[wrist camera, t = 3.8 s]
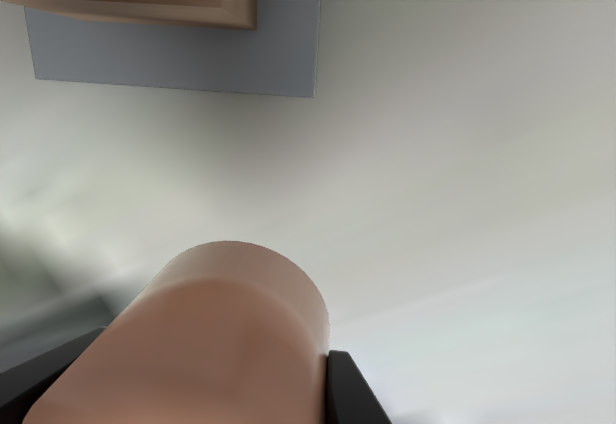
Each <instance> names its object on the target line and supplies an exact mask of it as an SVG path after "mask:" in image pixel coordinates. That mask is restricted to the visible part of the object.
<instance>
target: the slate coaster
mask: <svg viewBox="0 0 616 424" xmlns="http://www.w3.org/2000/svg"><path fill="white" fill-rule="evenodd" d="M320 4H321V0H258V3H257V31H254V30H237V29H220V28H203V27H186V26H169V25H152V24H135V23H118V22H101V21H84V20H78V19H74V18H70V17H66V16H62V15H58V14H54V13H50V12H46V11H42V10H38V9H33V8H29V7H25V6H24V10H25V16H26V23H27V29H28V35H29V41H30V47H31V53H32V60H33V66H34V72H35V78H36V79H43V80H57V81H72V82H87V83H101V84H116V85H131V86H146V87H160V88H175V89H190V90H204V91H219V92H234V93H248V94H263V95H278V96H292V97H307V98H314V96H315V81H316V65H317V50H318V34H319V19H320Z"/></svg>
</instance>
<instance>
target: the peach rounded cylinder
mask: <svg viewBox="0 0 616 424" xmlns="http://www.w3.org/2000/svg"><path fill="white" fill-rule="evenodd" d="M328 353H329V317H328V312H327V309H326V305H325V303H324V300H323V298H322V296H321V294H320V292H319V290H318V289H317V287H316V286H315V284H314V283H313V282H312V280H311V279H310V278H309V277H308V276H307V274H306V273H305V272H304V271H302V270H301V269H300V268H299V267H298V266H297V265H296V264H294V263H293V262H292V261H290V260H289V259H287V258H286V257H284V256H282V255H280V254H279V253H277V252H275V251H272V250H270V249H268V248H265V247H262V246H259V245H255V244H252V243H246V242H239V241H218V242H210V243H206V244H202V245H198V246H196V247H193V248H190V249H188V250H186V251H185V252H183V253H181V254H179V255H178V256H176V257H175V258H174V259H172V260H171V261H170V262H169V263H168V264H167V265H166V266H165V267H164V268H163V269H162V270H161V271H160V272H159V273H158V274H157V275H156V276H155V277H154V279H153V280H152V281H151V282H150V283H149V284H148V285H147V286H146V287H145V288H144V289H143V290H142V291H141V292H140V293H139V294H138V295H137V296H136V297H135V298H134V299H133V301H132V302H131V303H130V304H129V305H128V306H127V307H126V308H125V309H124V310H123V311H122V312H121V313H120V314H119V315H118V316H117V317H116V318H115V319H114V320H113V321H112V323H111V324H110V325H109V326H108V327H107V328H106V329H105V330H104V331H103V332H102V333H101V334H100V335H99V336H98V337H97V338H96V339H95V340H94V341H93V342H92V344H91V345H90V346H89V347H88V348H87V349H86V350H85V351H84V352H83V353H82V354H81V355H80V356H79V357H78V358H77V359H76V360H75V361H74V362H73V363H72V364H71V366H70V367H69V368H68V369H67V370H66V371H65V372H64V373H63V374H62V375H61V376H60V377H59V378H58V379H57V380H56V381H55V382H54V383H53V384H52V385H51V386H50V388H49V389H48V390H47V391H46V392H45V393H44V394H43V395H42V396H41V397H40V398H39V399H38V400H37V401H36V402H35V403H34V404H33V405H32V407H31V408H30V410H29V411H28V413H27V414H26V416H25V417H24V420H23V422H22V424H326V390H327V366H328Z"/></svg>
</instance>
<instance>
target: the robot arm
mask: <svg viewBox="0 0 616 424" xmlns="http://www.w3.org/2000/svg"><path fill="white" fill-rule="evenodd" d="M106 328H107V327H99V328H97V329H94V330H92V331H90V332H88V333H86V334H84V335H81V336H79V337H77V338H75V339H73V340H71V341H68V342H66V343H64V344H62V345H60V346H58V347H56V348H53V349H51V350H49V351H47V352H45V353H43V354H40V355H38V356H36V357H34V358H32V359H30V360H27V361H25V362H23V363H21V364H19V365H17V366H14V367H12V368H10V369H8V370H6V371H4V372H2V373H0V424H22V422H23V420H24V417H25V416H26V414H27V413H28V411H29V410H30V408H31V407H32V405H33V404H34V403H35V402H36V401H37V400H38V399H39V398H40V397H41V396H42V395H43V394H44V393H45V392H46V391H47V390H48V389H49V388H50V386H51V385H52V384H53V383H54V382H55V381H56V380H57V379H58V378H59V377H60V376H61V375H62V374H63V373H64V372H65V371H66V370H67V369H68V368H69V367H70V366H71V364H72V363H73V362H74V361H75V360H76V359H77V358H78V357H79V356H80V355H81V354H82V353H83V352H84V351H85V350H86V349H87V348H88V347H89V346H90V345H91V344H92V342H93V341H94V340H95V339H96V338H97V337H98V336H99V335H100V334H101V333H102V332H103V331H104V330H105V329H106ZM326 424H392V422H391V421H390V419H389V417H388V416H387V414H386V413H385V411H384V409H383V408H382V406H381V404H380V403H379V401H378V400H377V398H376V396H375V395H374V393H373V392H372V390H371V388H370V387H369V385H368V383H367V382H366V380H365V379H364V377H363V375H362V374H361V372H360V370H359V369H358V367H357V366H356V364H355V362H354V361H353V359H352V358H351V356H350V354H349V353H348V352H346V351H337V350H330V351H329V353H328V366H327V390H326Z"/></svg>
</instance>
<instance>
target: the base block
mask: <svg viewBox="0 0 616 424" xmlns="http://www.w3.org/2000/svg"><path fill="white" fill-rule="evenodd" d="M1 1H5V2H9V3H13V4H17V5H21V6H25V7H29V8H33V9H38V10H42V11H46V12H50V13H54V14H58V15H62V16H66V17H70V18H74V19H78V20H84V21H101V22H118V23H135V24H152V25H169V26H186V27H203V28H220V29H237V30H254V31H257V3H258V0H1Z"/></svg>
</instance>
